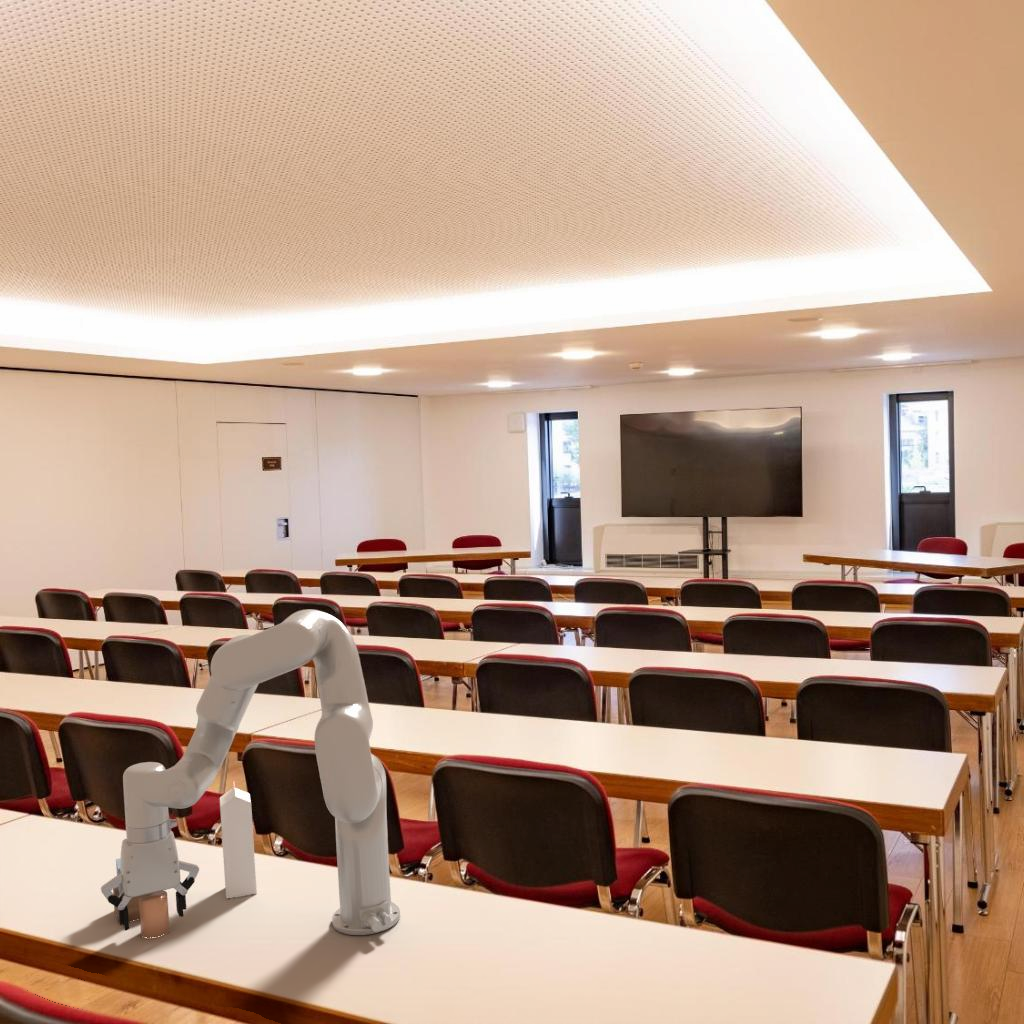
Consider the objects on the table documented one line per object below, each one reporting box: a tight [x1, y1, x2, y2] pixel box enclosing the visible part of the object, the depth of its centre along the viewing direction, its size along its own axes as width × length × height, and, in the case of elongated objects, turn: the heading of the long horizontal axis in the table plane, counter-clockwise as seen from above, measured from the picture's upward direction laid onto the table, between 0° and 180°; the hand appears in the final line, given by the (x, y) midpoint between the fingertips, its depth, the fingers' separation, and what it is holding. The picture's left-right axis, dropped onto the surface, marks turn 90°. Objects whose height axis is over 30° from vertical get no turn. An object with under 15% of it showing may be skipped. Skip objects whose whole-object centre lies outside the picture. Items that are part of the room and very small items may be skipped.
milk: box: [219, 780, 258, 900], centre depth 202 cm, size 6×6×22 cm
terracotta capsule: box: [139, 890, 171, 938], centre depth 186 cm, size 5×5×7 cm
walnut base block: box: [112, 886, 140, 925], centre depth 194 cm, size 7×7×5 cm
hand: (153, 920), depth 186 cm, fingers open, 9 cm apart
